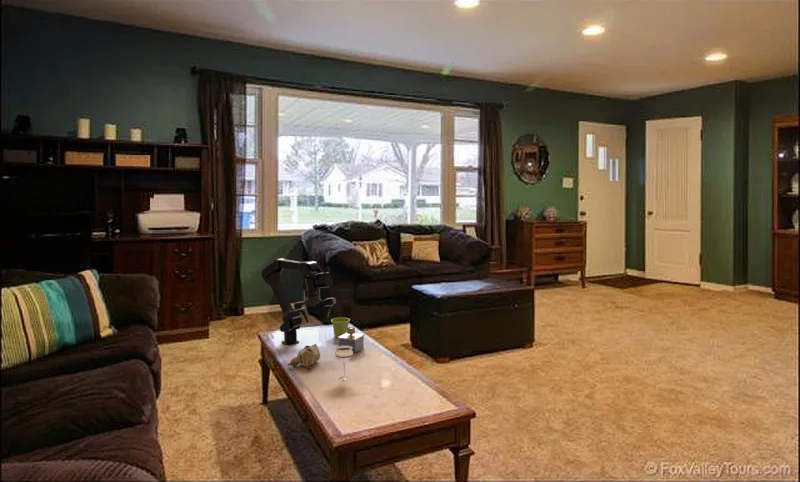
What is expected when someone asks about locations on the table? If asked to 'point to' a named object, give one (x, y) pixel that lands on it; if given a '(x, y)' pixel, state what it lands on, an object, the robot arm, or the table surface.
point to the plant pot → (340, 326)
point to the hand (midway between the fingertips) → (317, 321)
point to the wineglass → (344, 357)
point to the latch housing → (352, 341)
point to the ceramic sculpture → (306, 357)
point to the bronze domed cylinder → (351, 330)
